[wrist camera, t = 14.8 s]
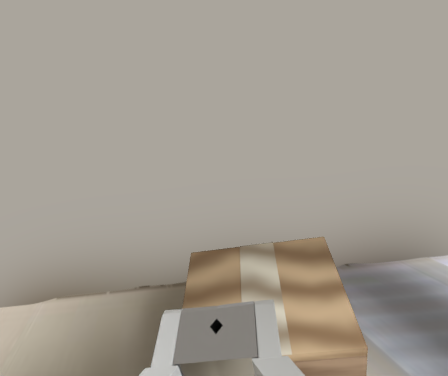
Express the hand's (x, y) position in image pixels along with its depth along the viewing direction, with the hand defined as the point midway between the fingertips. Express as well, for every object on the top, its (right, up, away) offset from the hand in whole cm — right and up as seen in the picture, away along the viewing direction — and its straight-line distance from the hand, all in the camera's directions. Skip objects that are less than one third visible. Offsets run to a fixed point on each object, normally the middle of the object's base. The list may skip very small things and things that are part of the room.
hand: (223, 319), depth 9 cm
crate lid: (+5, -10, +33) cm, 35 cm away
